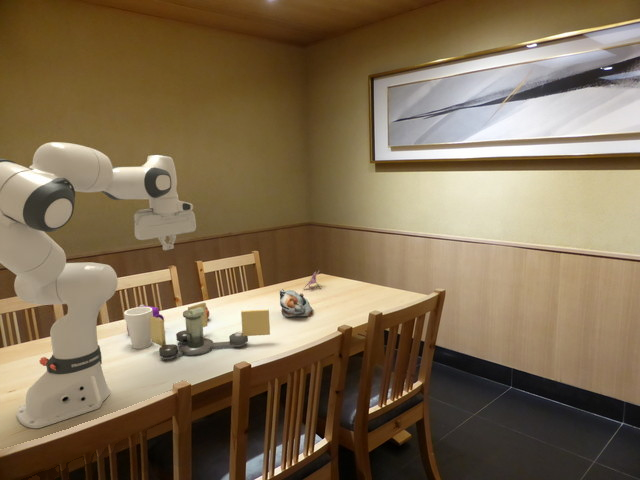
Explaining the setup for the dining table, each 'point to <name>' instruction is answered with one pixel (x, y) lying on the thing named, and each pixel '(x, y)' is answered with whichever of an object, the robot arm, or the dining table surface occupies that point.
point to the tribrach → (187, 336)
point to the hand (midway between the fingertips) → (168, 249)
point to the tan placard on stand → (252, 326)
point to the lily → (313, 279)
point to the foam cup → (139, 326)
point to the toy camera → (155, 313)
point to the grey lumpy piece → (294, 304)
